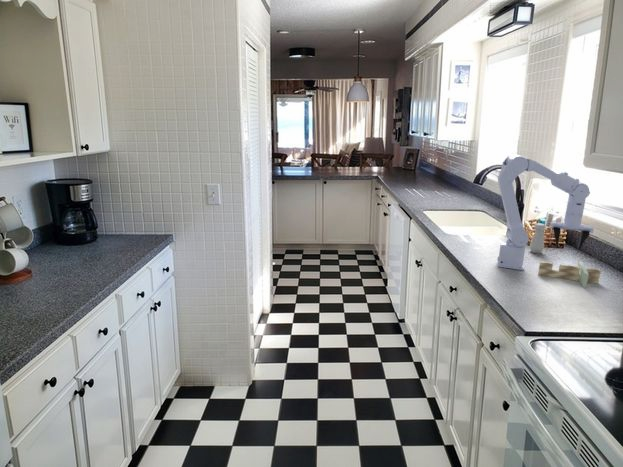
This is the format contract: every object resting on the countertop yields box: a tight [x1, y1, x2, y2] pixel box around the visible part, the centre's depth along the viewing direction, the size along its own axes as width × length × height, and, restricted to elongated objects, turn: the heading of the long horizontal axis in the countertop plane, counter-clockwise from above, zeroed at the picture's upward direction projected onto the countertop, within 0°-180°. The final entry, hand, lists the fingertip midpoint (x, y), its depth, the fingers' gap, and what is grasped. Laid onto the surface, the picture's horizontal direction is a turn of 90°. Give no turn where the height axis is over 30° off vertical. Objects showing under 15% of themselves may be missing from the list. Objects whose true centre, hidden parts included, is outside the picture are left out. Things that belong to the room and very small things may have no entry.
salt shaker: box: [528, 222, 546, 255], centre depth 209 cm, size 6×6×13 cm
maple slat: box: [537, 261, 602, 284], centre depth 176 cm, size 20×1×5 cm, turn 68°
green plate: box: [577, 261, 589, 289], centre depth 175 cm, size 16×1×5 cm, turn 158°
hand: (567, 248), depth 184 cm, fingers open, 7 cm apart
